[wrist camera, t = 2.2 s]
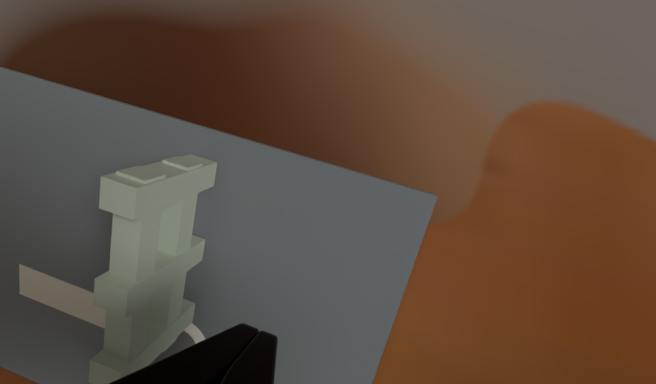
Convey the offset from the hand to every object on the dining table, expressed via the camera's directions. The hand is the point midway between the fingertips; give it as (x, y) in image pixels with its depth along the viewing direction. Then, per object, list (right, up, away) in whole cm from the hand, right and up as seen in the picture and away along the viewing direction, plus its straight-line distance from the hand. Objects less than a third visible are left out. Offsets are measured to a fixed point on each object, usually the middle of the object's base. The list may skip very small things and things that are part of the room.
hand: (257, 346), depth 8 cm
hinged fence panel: (-4, +1, +8) cm, 9 cm away
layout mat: (-7, -2, +10) cm, 12 cm away
